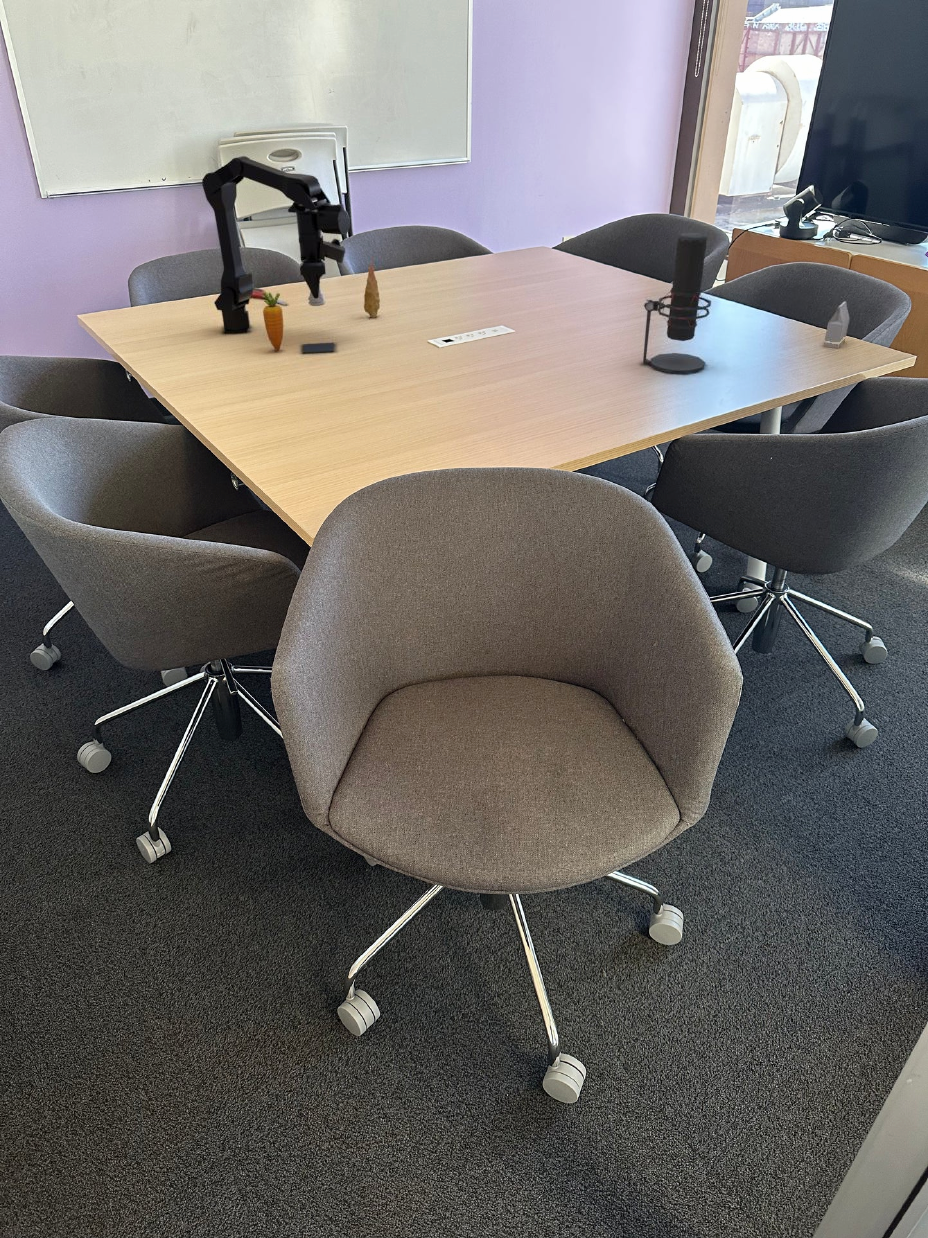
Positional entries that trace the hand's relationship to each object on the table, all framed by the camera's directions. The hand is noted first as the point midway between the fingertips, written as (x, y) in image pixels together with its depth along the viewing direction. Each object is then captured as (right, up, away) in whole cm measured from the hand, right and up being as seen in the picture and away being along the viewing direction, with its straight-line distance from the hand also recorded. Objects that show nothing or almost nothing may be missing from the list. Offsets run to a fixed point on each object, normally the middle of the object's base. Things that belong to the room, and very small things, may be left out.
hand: (316, 296), depth 234 cm
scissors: (-22, +15, +43) cm, 51 cm away
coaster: (+1, -14, 0) cm, 14 cm away
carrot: (-10, -15, -1) cm, 18 cm away
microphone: (+90, -22, -14) cm, 94 cm away
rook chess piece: (0, -2, +1) cm, 2 cm away
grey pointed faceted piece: (+134, -13, -1) cm, 135 cm away
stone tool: (+12, +2, +24) cm, 27 cm away
